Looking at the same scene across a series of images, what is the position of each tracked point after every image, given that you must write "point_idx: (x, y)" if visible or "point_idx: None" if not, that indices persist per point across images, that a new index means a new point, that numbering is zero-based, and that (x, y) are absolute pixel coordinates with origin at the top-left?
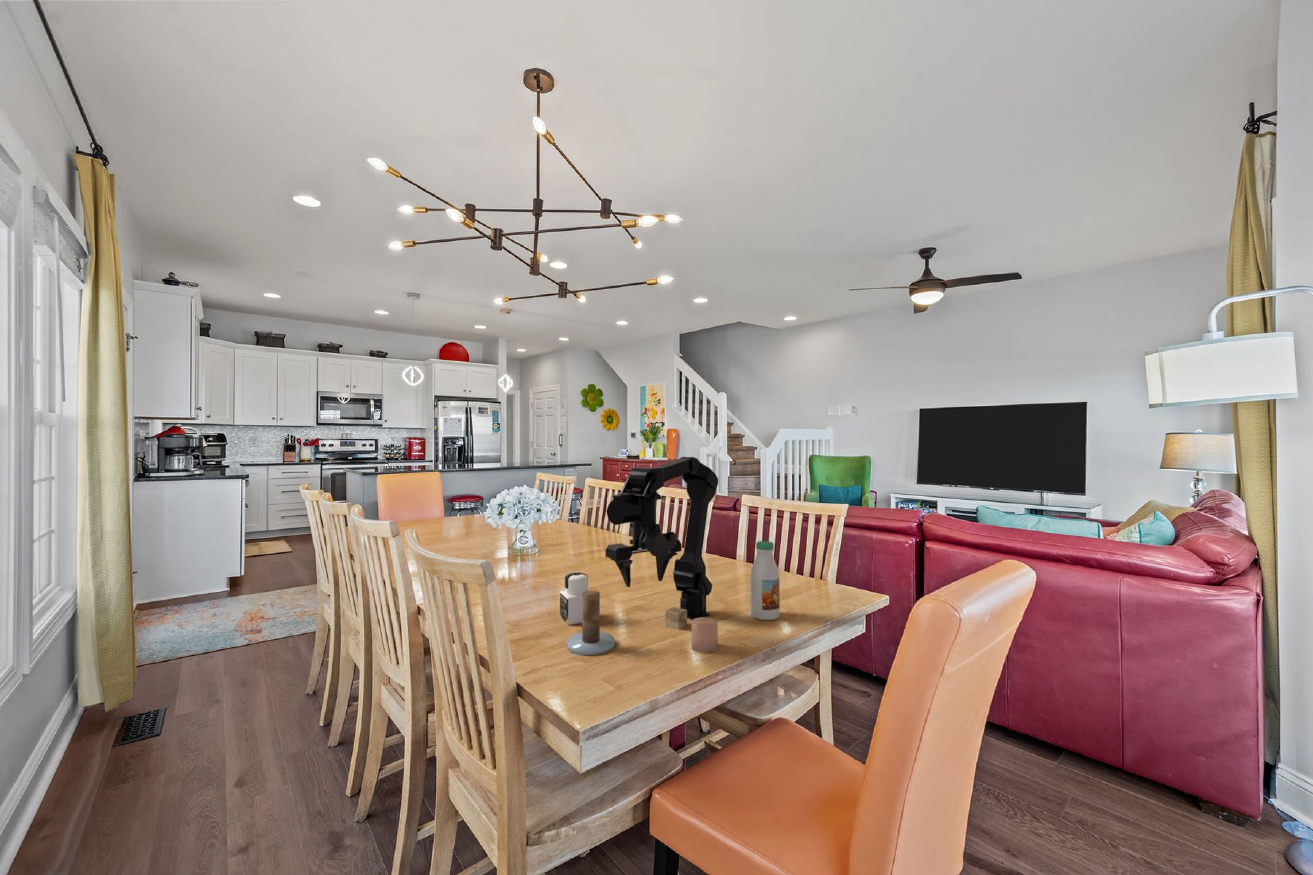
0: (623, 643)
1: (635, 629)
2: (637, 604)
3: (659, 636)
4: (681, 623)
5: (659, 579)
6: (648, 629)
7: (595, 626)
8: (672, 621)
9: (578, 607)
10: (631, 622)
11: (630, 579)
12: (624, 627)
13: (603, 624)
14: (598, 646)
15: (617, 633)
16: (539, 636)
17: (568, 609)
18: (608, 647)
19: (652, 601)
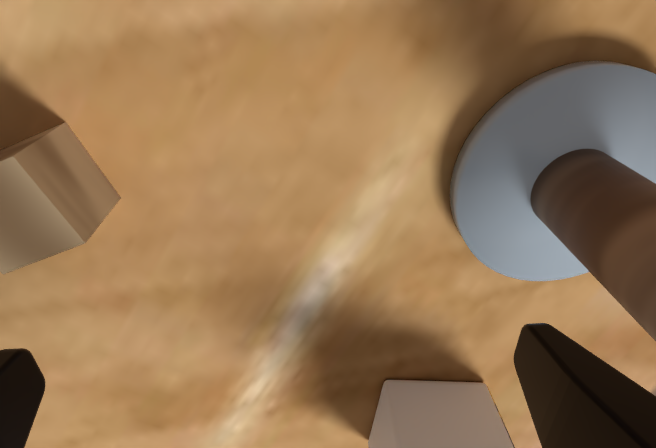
0: (429, 117)
1: (281, 235)
2: (142, 436)
3: (213, 94)
4: (23, 142)
5: (27, 378)
6: (223, 205)
7: (641, 185)
8: (75, 173)
9: (466, 438)
10: (256, 307)
11: (601, 396)
12: (313, 276)
13: (371, 337)
14: (607, 98)
15: (379, 235)
16: (627, 343)
17: (508, 438)
18: (563, 72)
19: (67, 439)
